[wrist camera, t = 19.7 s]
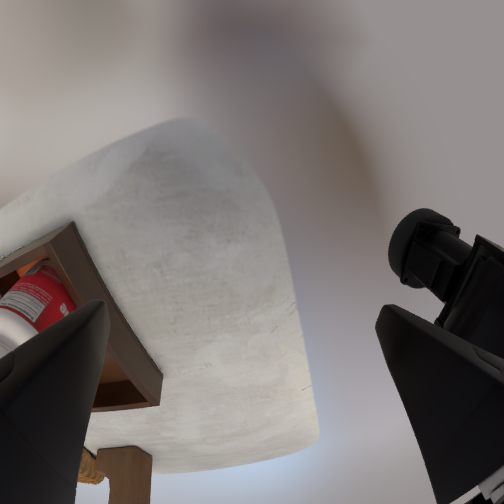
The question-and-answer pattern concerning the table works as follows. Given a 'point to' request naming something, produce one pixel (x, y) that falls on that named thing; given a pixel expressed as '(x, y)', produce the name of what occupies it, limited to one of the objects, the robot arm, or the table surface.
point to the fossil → (88, 470)
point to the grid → (121, 335)
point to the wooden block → (126, 474)
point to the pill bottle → (32, 306)
